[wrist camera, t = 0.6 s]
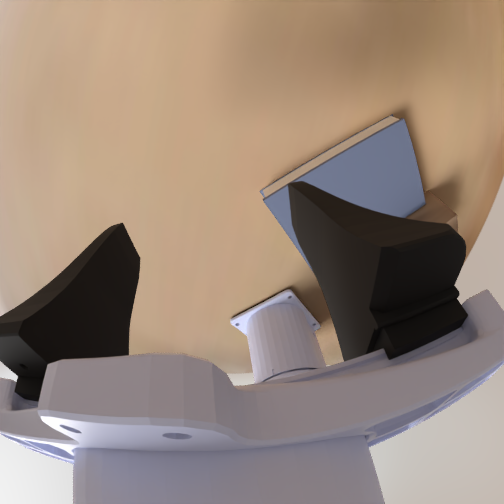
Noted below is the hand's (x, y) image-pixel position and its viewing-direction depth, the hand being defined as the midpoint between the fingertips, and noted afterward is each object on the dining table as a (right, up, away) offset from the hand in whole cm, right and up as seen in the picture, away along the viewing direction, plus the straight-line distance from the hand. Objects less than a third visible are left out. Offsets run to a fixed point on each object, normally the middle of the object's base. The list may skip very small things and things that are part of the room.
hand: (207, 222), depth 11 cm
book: (+11, +4, +12) cm, 16 cm away
